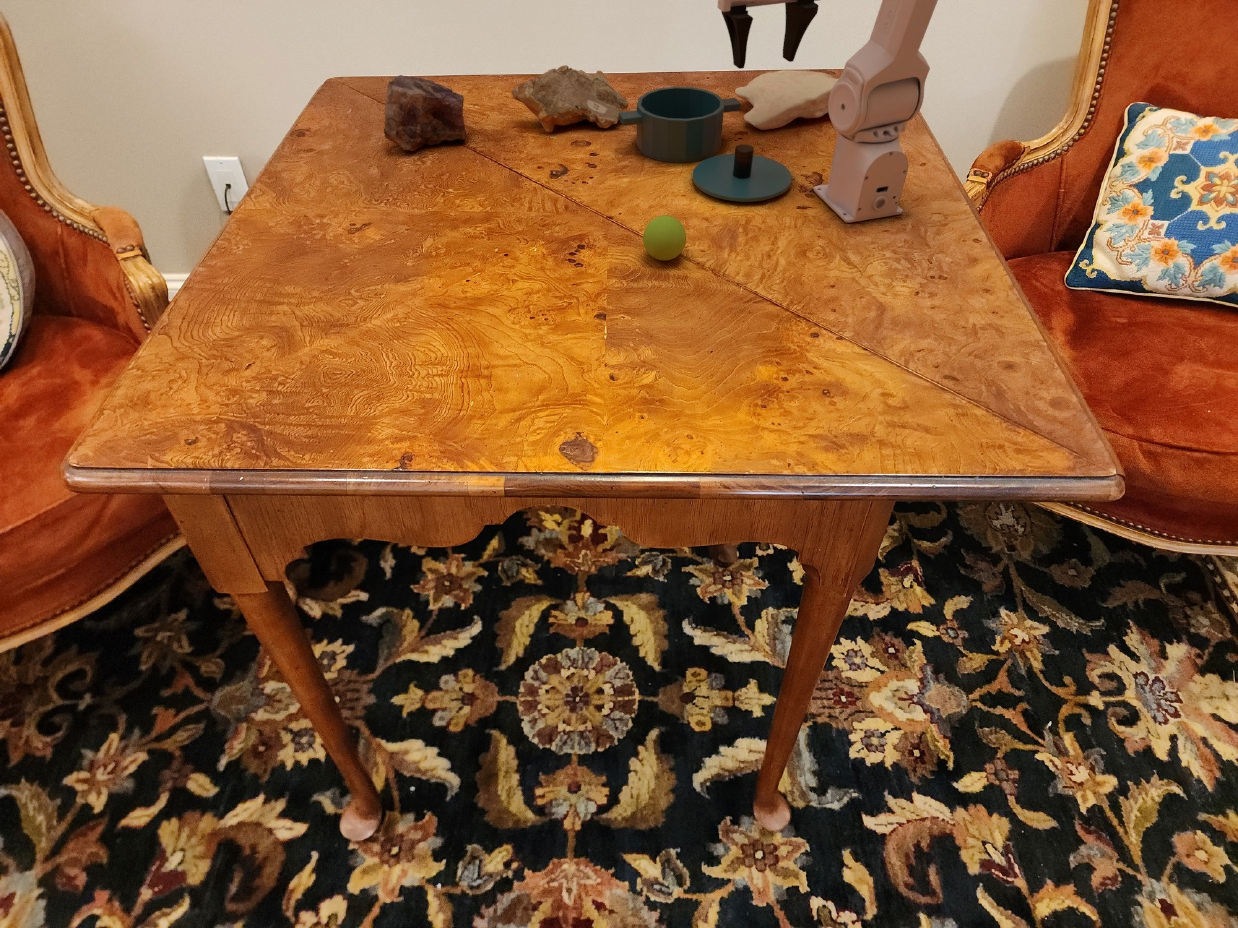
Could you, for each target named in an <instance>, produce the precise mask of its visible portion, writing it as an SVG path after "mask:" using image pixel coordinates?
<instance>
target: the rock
mask: <svg viewBox="0 0 1238 928" xmlns="http://www.w3.org/2000/svg"><path fill="white" fill-rule="evenodd" d="M464 98H465V97H464V95H463V94H460V93H457V92H454V91H453V89H452V88H448V87H446V86H444V85H442V84H440V83H436V82H435V81H433V80H430V79H425V78H421V77H417V76H407V75H402V74H399V75H398V76H397V77H394V78H393V79H392V80H390V81H388V83H387V89H386V98H385V102H384V103H385V105H384V108H385V109H384V118H385V119H384V128H383V134H384V138H385V139H387V140H388V141H390V142H392V143H394V144H396V146H398V147H400V148H402V150H403V151H410V152H415V151H417V150H418V149H419V148H422V147H424V146H425V145H431V146H435V145H439V144H441V143H442V142H444V141H447V142H454V141H461V140H465V139H466V138H467V130H466V124H465V119H464V114H463V113H464Z"/></svg>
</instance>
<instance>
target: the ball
mask: <svg viewBox="0 0 1238 928" xmlns="http://www.w3.org/2000/svg"><path fill="white" fill-rule="evenodd" d="M642 243H643V247H644V249H645V250H646V252H647V253H648V254H649V256H651V257H652V258H653V259H656V260H658V261H663V262H665V261H671V260H673V259H675V258H677V257H678V256H680V254H681V253H682V252H683V251H684V249H685V246H686V243H687V232H686V229H685V227H684V225H683V224H682V222H681V221H680V220H679V219H677V218H676V217H674V216H672V215H665V214H664V215H659V216H655V217H654V218H652V219H651V220H650V221H648V223H647V224H646V226H645V228H644V230H643V235H642Z"/></svg>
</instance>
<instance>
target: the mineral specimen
mask: <svg viewBox="0 0 1238 928" xmlns="http://www.w3.org/2000/svg"><path fill="white" fill-rule="evenodd" d="M511 96H512V98H513V99H514V100H516V101H518V102H520V103H522V104H523V105H524V106H525V107H526V108H527V109H528V110H529V111H530V112H531V113H532V114H533V115H534V116H535V117H536V118H537V120H538V122H539V124H540V125H542V127H543V129H544V131H545V132H549V133H553V131H554V128H555V126H568V125H572V124H577V123H580V122H582V121H584V120H587V121H589V122H590V123H596V125H597V127H599V128H601V129H608V128H610V127H611V126H612V125H616V124H618V121H619V113H620V112H623V110H626V109H627V108H628V107H629V101H628V99H627V98H626V97H625V96H623V95H622V94H621V92H619V91H617V90H616V89H614V87H612V86H611V84H610V83H609V82H608V79H607V76H606V75H605V73H604V72H603V71H602V70H597V71H596V73H594V74H593V75H591V73H588V72H586V71H584V70H583V69H579V70H577V69H573V68H572V67H569V66H568V65H567V64H566V65H565V64H564V65H562V66H559V67H558V68H550V69H548V70H547V71H545V72H544V73H542V74H541V75H539V76H537V77H535V78H531V79H529V80H526V81H523V82H522V83H519V84H518V85H516V86H515V87H513V88H512V89H511Z"/></svg>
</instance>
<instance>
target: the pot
mask: <svg viewBox="0 0 1238 928" xmlns="http://www.w3.org/2000/svg"><path fill="white" fill-rule="evenodd" d="M741 108H742V103H741V102H740V101H739V100H738V99H737V98H736V97H731V98H730V97H729V98H722V97H721V96H720V95H719V94H718V93H714V92H712V91H710V90H707V89H703V88H698V87H692V86H669V87H662V88H656V89H653V90H651V91H647V92H645V93H644V94H642V95H641V96H640V97H638V99H637V103H636V109H635V110H628V111H627V110H626V111H621V112H620V113H619V119H618V121H619V122H620V123H621V125H622V126H623V127H626V126H633V125H636V146H637V149H638V150H639V152H640V153H641V154H642V155H644V156H646V157H648V158H650V159H652V160H656V161H660V162H664V163H674V164H684V163H687V164H688V163H696V162H700V161H704V160H706V159H708V158H711V157H714V156H716V154H717V153H718V152H719V151H720V150H721V147H722V135H723V124H724V113H733V112H739V111H741Z"/></svg>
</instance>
